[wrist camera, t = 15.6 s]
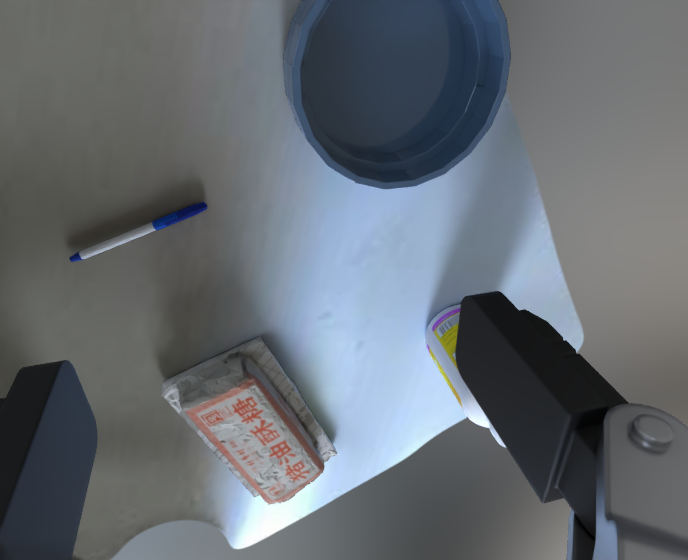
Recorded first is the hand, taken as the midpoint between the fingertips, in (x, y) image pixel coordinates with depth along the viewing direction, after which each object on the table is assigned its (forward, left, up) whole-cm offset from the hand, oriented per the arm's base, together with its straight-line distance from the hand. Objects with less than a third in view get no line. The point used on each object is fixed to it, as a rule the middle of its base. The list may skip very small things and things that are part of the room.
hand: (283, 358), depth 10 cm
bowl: (+11, +1, -27) cm, 29 cm away
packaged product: (-1, -30, -27) cm, 40 cm away
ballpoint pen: (-8, -9, -27) cm, 30 cm away
